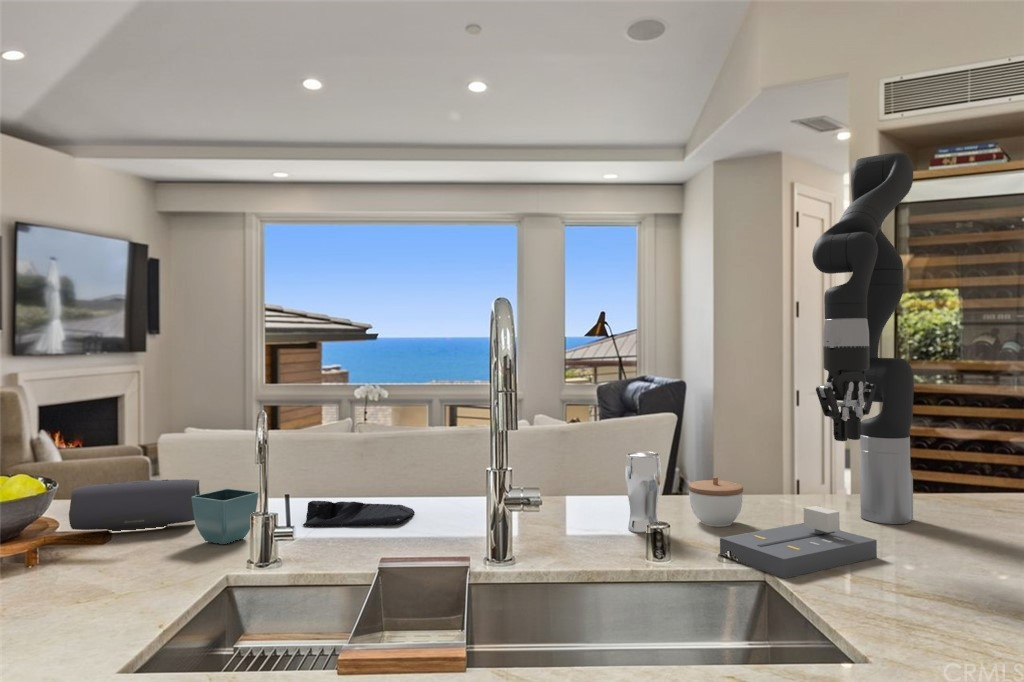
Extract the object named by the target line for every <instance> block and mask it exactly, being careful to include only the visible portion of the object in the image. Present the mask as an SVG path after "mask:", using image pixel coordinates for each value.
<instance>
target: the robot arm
mask: <svg viewBox="0 0 1024 682" xmlns="http://www.w3.org/2000/svg"><path fill="white" fill-rule="evenodd" d="M913 167H914V166H913V163H912V160H911V158H910V156H909V155H908V154H907V153H905V152H889V153H883V154H877V155H870V156H865V157H862V158H857V159H856V160H855V161H854V162H853V164H852V168H851V172H850V189H851V192H850V193H851V200H852V201H851V202H852V203H850V204H849V205H848V206H847V207H846V209H845V210H844V212H843V214H842V215H841V218H840V219H839V221H838V222H837V223H835V224H834V225H832V226H831V227H830V228H828V229H827V230H825V232H823V233H822V234H821V235H820V236H819V238H817V240H816V242H815V243H814V245H813V249H812V254H811V255H812V257H811V258H812V262H813V265H814V266H815V268H816V269H817V270H818V271H819V272H822V273H823V274H828V275H831V274H832V275H833V274H842V273H843V274H844V273H852V274H851V276H850V278H849V279H848V280H847V282H845V283H843V284H839V285H835V286H832V287H829V288H827V289H826V290H825V292H824V298H823V300H824V302H823V303H824V304H823V305H824V307H823V308H824V309H823V311H824V324H823V332H822V335H823V336H822V341H823V342H822V344H823V349H822V350H823V352H822V353H823V369H824V370H825V371H827V372H828V375H827V379H826V383H824V384H823V385H816V387H815V392H816V394H817V398H818V400H819V404H820V406H821V410H822V412H823V416H824V417H829V418H830V419H831V420H833V424H832V425H833V430H832V431H833V433H832V434H833V438H834V440H835V441H837V442H847V441H848V440H851V441H853V440H854V441H858V440H859V483H860V484H859V485H860V486H859V487H860V488H859V491H860V492H859V493H860V498H859V499H860V501H859V502H860V517H861V518H862V519H863V520H866V521H870V522H872V523H877V524H878V523H879V524H887V525H902V524H903V525H904V524H909V523H911V522H912V520H914V478H913V473H912V471H911V427H912V423H913V417H914V416H913V415H914V413H913V411H914V392H915V391H914V390H915V381H914V380H915V379H914V373H913V372H914V371H913V369H912V366H911V364H910V363H909V362H908V361H907V360H906V359H903V358H900V357H899V358H898V357H879V346H880V340H881V335H882V333H883V331H884V329H885V327H886V325H887V323H888V322H889V320H890V318H891V316H892V315H893V314H894V312H895V311H896V309H897V308H898V305H899V304H900V301H901V299H902V296H903V294H904V262H903V259H902V256H901V255H900V253H899V252H898V250H897V249H896V247H894V245H893V244H892V243H891V241H890V240H889V239H888V237H886V234H885V233H884V232H883V231H882V229H881V226H882V224H883V223H884V221H885V219H886V218H887V217H888V216H889V215H890V214H891V213H892V212H893V210H894V209H895V208H896V207H897V206H898V205H899V204H900V203H901V202H902V201H903V200H904V199H905V198H906V197H907V195H908V194H909V193H910V191H911V189H912V187H913V183H914V168H913ZM839 401H840V402H839ZM873 403H882V405H881V411H880V412H879V413H878V414H877V415H875V416H873V417H870V418H867V419H863V418H864V416H865V415H867V416H868V415H869V414H870V413H871V408H872V405H873ZM862 419H863V420H862Z"/></svg>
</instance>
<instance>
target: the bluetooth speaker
mask: <svg viewBox="0 0 1024 682" xmlns="http://www.w3.org/2000/svg"><path fill="white" fill-rule="evenodd" d="M196 495H201V491H200V479H183V478H181V479H157V480H155V479H153V480H152V479H151V480H133V481H132V480H131V481H122V482H109V483H102V484H91V485H85V486H84V485H83V486H80V487H79V486H78V487H75V488H73V490H71V494H70V504H69V511H68V521H69V526H70V528H71V529H72V530H74V531H75V530H76V531H78V530H79V531H82V530H83V531H90V530H92V531H95V530H101V531H102V530H107V531H108V530H112V531H121V530H136V529H145V528H156V527H164V526H167V527H168V525H174V524H179V523H181V524H182V523H188V522H193V521H195V519H194V513H193V506H192V499H191V497H193V496H196Z"/></svg>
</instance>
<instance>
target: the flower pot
mask: <svg viewBox="0 0 1024 682" xmlns="http://www.w3.org/2000/svg"><path fill="white" fill-rule="evenodd" d="M191 499H192V506H193V513H194V519H195V520H194V523H195V526H196V528H197V531H198V532H199V534H200V536H201V537H202V539H203V540H204V541H205V542H206V541H208V542H207V543H211V542H213V543H214V544H217V543H219V544H218V545H223V544H226V545H228V544H231V543H234V542H236V541H235V540H238V539H241V538H244V537H245V538H246V537H247V534H248V533H249V532H250V530H251V528H250V514H251V513H253V512H256V513H257V505H258V499H259V492H258V491H251V490H243V489H235V488H223V489H219V490H215V491H211V492H205V493H200V495H196V496H193V497H191ZM245 538H244V539H245ZM241 540H242V539H241ZM233 541H234V542H233ZM238 541H239V540H238ZM230 542H231V543H230ZM227 543H228V544H227Z"/></svg>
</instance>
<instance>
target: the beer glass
mask: <svg viewBox="0 0 1024 682" xmlns="http://www.w3.org/2000/svg"><path fill="white" fill-rule="evenodd" d="M625 455H626V456H625V469H624V470H625V474H624V477H625V485H626V486H625V487H626V492H627V498H628V503H629V504H628V505H629V521H628V526H627V527H628V528H627V529H628V531H630V532H631V533H635V534H645V533H646V527H647V524H649V523H651V522H658V523H659V518H658V517H659V516H658V506H659V499H660V493H661V485H662V465H661V459H660V458H661V457H660V453H658V452H655V451H629V452H627V453H626V454H625ZM645 535H646V534H645Z"/></svg>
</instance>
